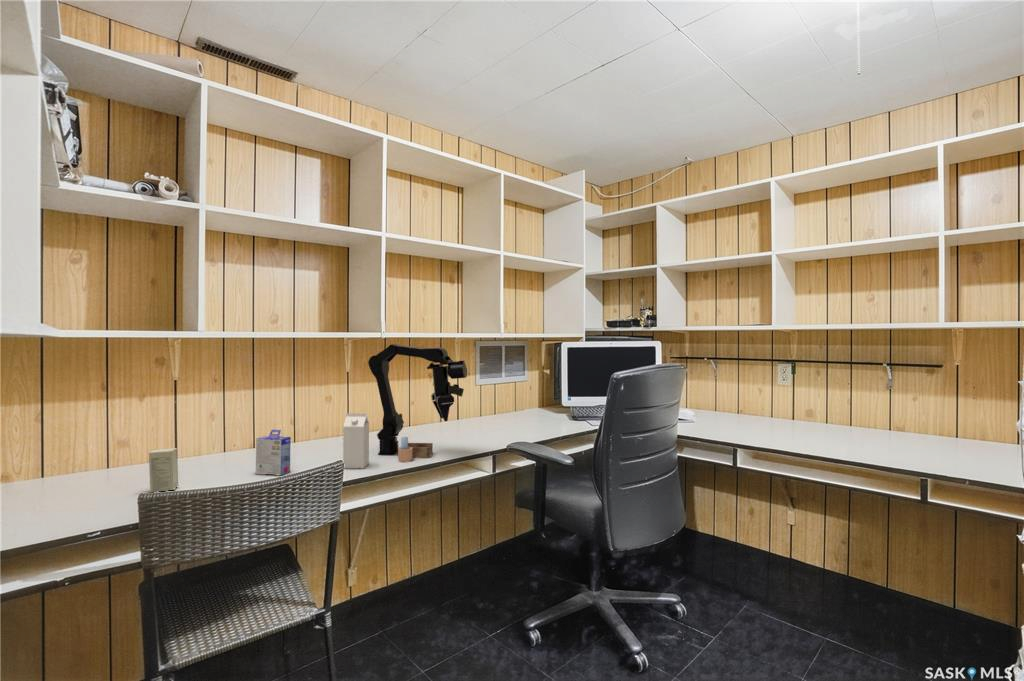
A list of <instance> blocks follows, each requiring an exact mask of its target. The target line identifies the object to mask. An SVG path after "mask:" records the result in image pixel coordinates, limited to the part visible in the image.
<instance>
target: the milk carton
mask: <svg viewBox="0 0 1024 681" xmlns="http://www.w3.org/2000/svg"><path fill="white" fill-rule="evenodd" d="M345 415H346V416H345V420H344V423H343V430H342V432H343V435H342V436H343V437H342V440H343V442H342V443H343V444H342V446H343V447H342V448H343V451H342V453H343V454H342V455H343V456H342V457H343V458H342V460H343V461H344V464H345V468H344V469H358V468H362V469H364V468H366V467H367V466H368V465H369V464H368V463H370V423H369V420H368V416H367V413H366V412H365V413H364V412H363V413H360V412H359V413H358V412H357V413H355V412H353V413H351V412H350V413H346V414H345ZM343 461H342V462H343Z"/></svg>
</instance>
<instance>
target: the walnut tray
mask: <svg viewBox="0 0 1024 681" xmlns="http://www.w3.org/2000/svg"><path fill="white" fill-rule="evenodd" d="M408 447H412V448H413V457H415V458H414V459H417V458H416V457H419V458H418V459H429V458H430V457H431V456H432V454H433V442H408ZM430 455H431V456H430ZM429 456H430V457H429ZM421 457H422V458H421Z"/></svg>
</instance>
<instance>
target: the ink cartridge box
mask: <svg viewBox="0 0 1024 681" xmlns="http://www.w3.org/2000/svg"><path fill="white" fill-rule="evenodd" d="M281 432H282V430H281V429H271V431H270V432H269V435H266V436H265V435H264V436H261V437H258V438H256V440H255V442H256V444H255V473H256V475H265V474H279V475H278V476H282V475H285V474H289V473H291V436H280V435H281Z"/></svg>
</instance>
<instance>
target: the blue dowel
mask: <svg viewBox="0 0 1024 681" xmlns="http://www.w3.org/2000/svg"><path fill="white" fill-rule="evenodd" d="M400 440H401V442H400V445H401V446H400V447H401V449H408V443H409V437H408V436H403V437H401V438H400Z"/></svg>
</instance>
